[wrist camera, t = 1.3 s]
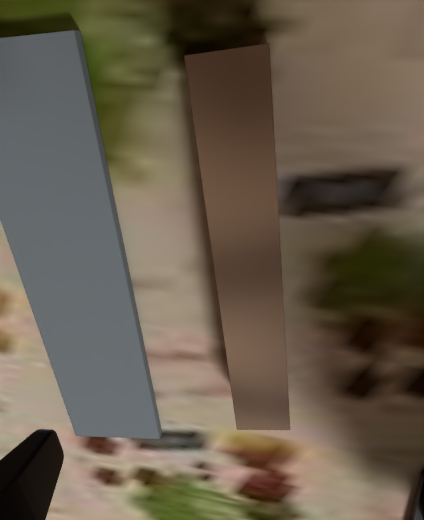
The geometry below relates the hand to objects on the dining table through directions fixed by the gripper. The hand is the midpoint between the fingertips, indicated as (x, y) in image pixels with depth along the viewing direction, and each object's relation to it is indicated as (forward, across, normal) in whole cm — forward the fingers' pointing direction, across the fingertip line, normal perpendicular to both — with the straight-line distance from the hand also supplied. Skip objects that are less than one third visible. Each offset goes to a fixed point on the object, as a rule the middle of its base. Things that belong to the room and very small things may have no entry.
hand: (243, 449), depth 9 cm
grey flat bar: (+9, +8, +1) cm, 12 cm away
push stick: (+10, 0, 0) cm, 10 cm away
